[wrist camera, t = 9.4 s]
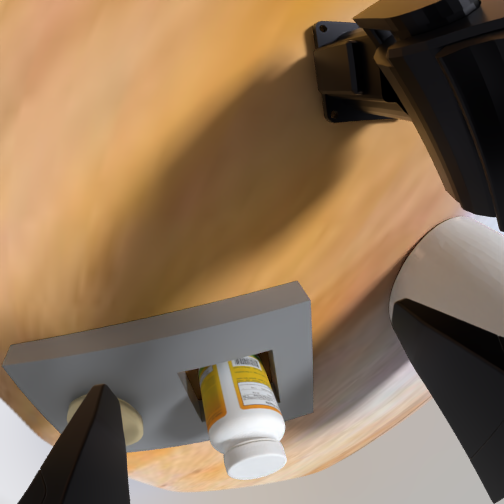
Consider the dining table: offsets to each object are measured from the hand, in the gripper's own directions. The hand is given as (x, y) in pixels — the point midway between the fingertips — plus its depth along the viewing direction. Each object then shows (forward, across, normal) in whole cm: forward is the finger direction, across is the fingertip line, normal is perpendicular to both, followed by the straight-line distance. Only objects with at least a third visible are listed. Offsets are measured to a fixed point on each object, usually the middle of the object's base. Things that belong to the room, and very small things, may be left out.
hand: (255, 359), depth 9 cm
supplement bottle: (+12, +2, +14) cm, 18 cm away
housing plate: (+12, +8, +13) cm, 19 cm away
